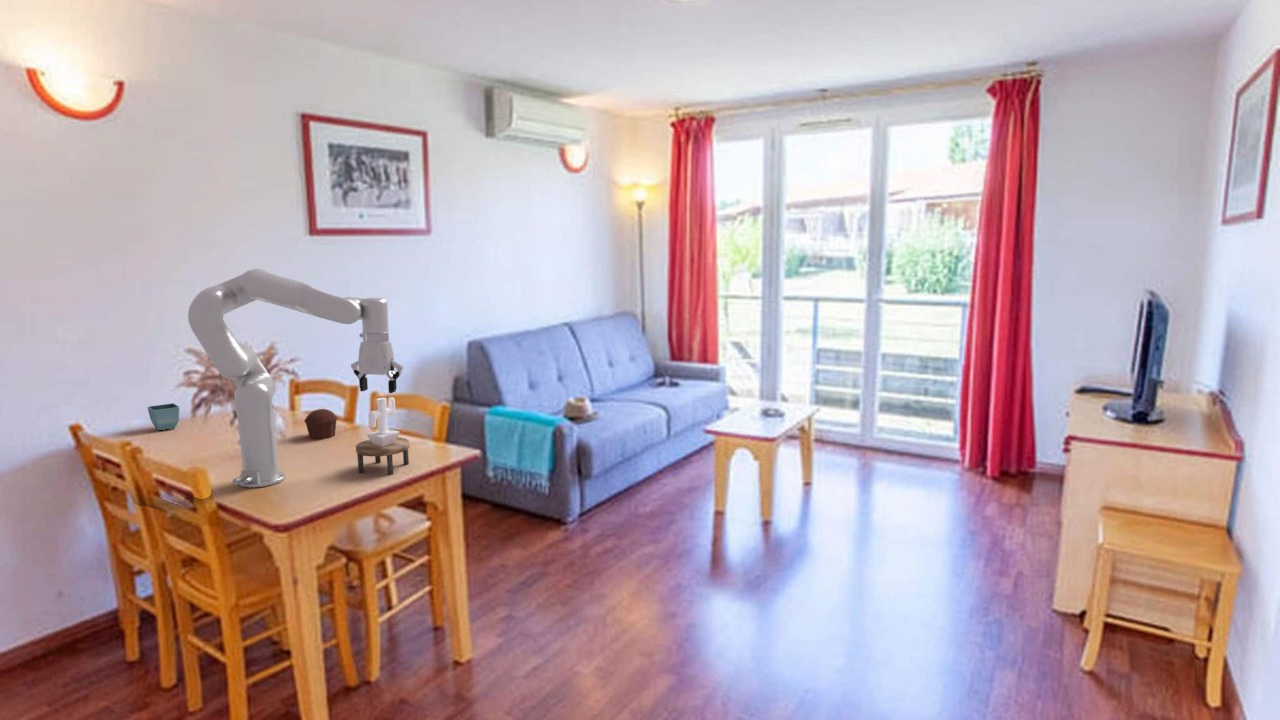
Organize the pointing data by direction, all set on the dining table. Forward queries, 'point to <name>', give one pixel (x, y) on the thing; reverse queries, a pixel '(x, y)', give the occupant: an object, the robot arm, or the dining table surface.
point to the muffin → (321, 424)
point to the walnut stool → (382, 452)
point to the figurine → (382, 423)
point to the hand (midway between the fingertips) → (378, 391)
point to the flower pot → (164, 416)
